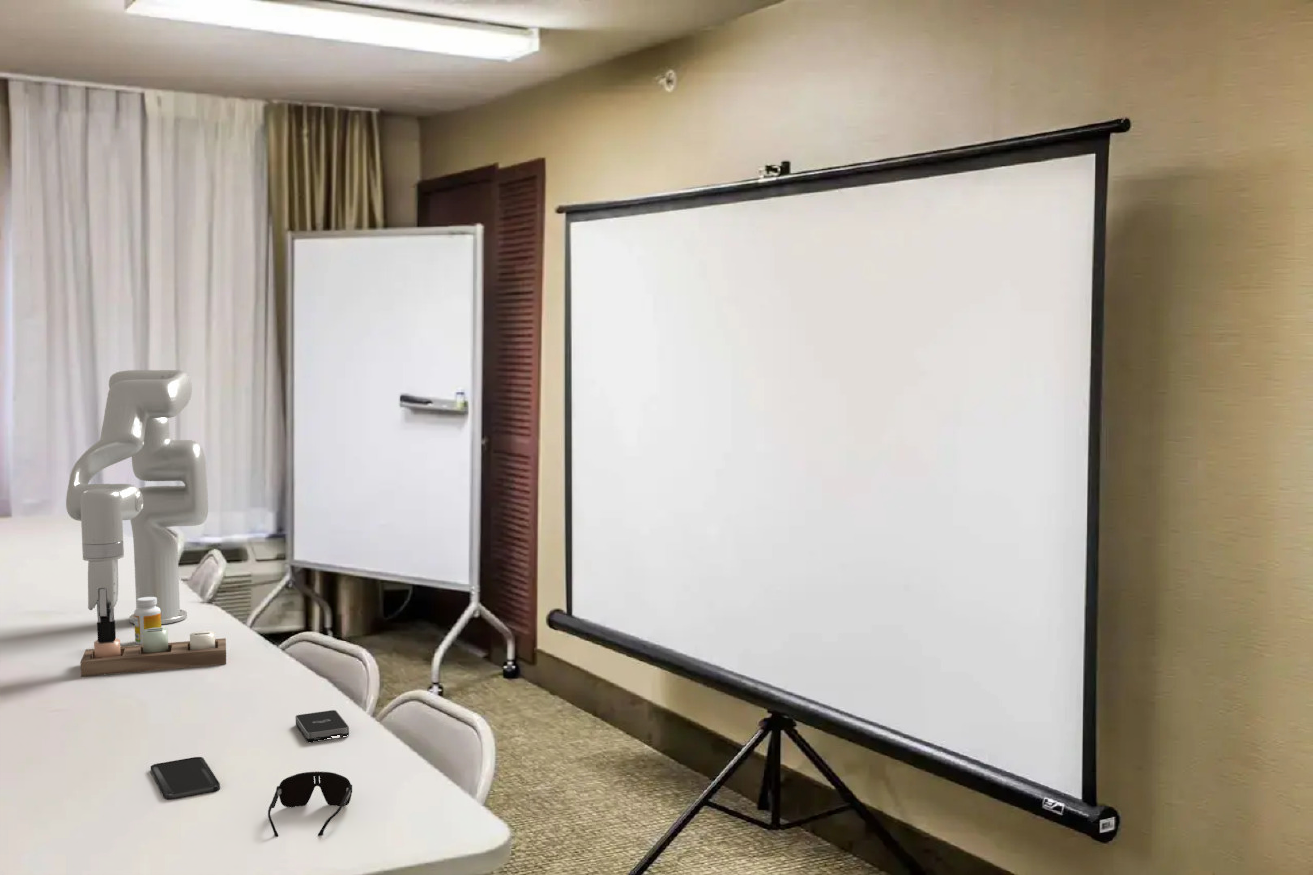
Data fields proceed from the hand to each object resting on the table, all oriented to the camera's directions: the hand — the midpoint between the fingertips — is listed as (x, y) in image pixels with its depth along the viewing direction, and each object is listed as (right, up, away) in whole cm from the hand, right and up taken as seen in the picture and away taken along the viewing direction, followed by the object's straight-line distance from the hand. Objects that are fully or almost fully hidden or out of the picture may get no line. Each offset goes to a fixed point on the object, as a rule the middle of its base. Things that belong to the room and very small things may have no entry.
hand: (106, 640), depth 248 cm
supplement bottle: (-1, -4, +22) cm, 22 cm away
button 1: (+17, -4, +6) cm, 18 cm away
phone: (+39, -11, -62) cm, 74 cm away
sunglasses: (+62, -13, -77) cm, 100 cm away
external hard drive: (+54, -9, -39) cm, 67 cm away
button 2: (+8, -2, +3) cm, 9 cm away
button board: (+8, -5, +4) cm, 11 cm away
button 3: (0, -4, 0) cm, 4 cm away
